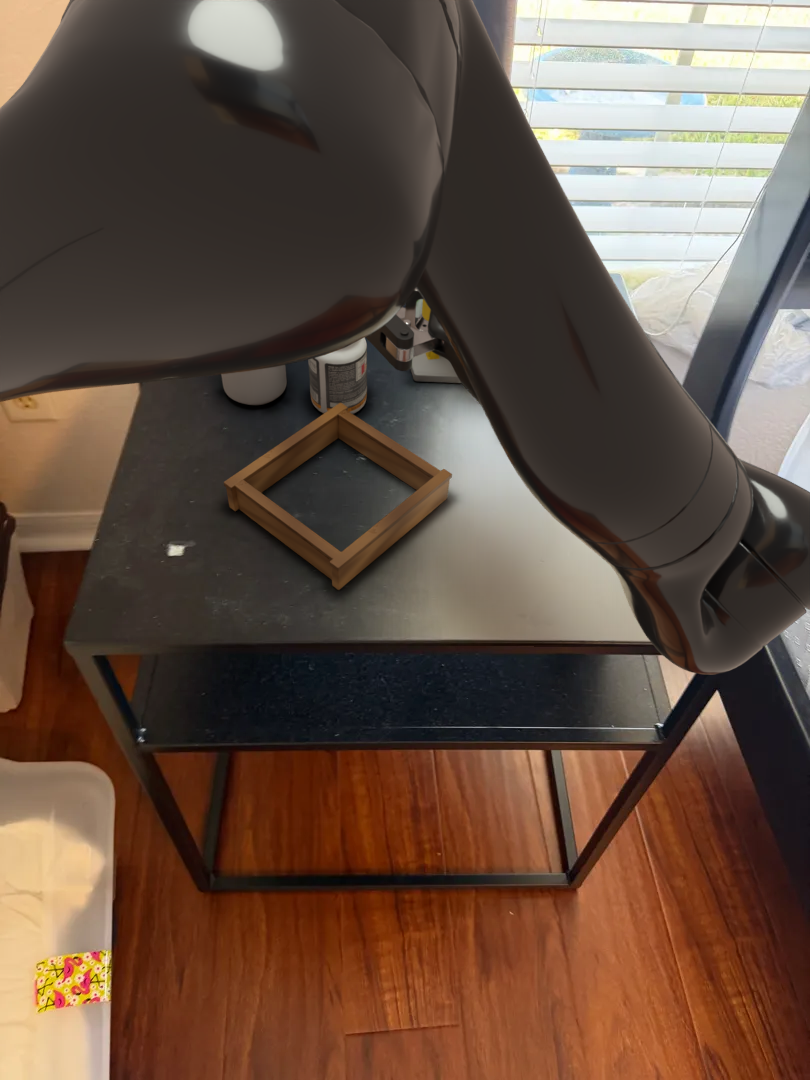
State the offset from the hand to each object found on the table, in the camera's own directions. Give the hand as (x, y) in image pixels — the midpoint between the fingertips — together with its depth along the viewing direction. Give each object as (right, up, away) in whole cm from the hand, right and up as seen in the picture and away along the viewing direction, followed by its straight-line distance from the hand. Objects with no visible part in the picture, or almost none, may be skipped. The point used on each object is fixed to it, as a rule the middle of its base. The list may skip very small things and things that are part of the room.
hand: (413, 248), depth 59 cm
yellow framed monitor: (+3, 0, +32) cm, 32 cm away
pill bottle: (-7, -7, +25) cm, 27 cm away
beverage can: (-16, -5, +26) cm, 31 cm away
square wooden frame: (-7, -17, +16) cm, 25 cm away
